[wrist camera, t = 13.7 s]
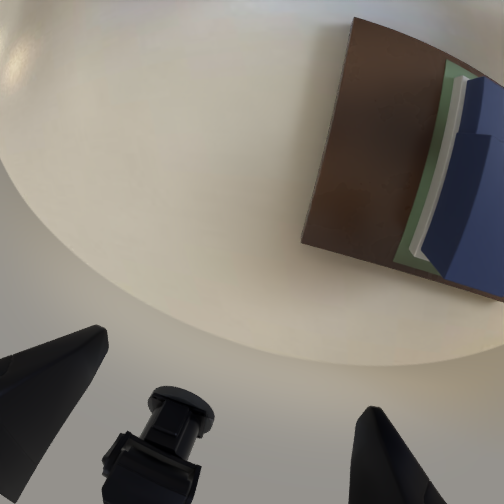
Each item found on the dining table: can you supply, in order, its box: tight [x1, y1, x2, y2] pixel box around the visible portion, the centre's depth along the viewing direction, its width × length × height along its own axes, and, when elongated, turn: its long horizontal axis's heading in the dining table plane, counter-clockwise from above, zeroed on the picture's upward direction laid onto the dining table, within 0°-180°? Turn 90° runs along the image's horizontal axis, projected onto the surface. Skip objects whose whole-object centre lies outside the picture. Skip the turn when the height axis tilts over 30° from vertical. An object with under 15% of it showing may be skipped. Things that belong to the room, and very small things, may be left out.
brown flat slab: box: [301, 17, 504, 302], centre depth 14 cm, size 14×18×1 cm
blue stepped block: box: [409, 75, 504, 297], centre depth 11 cm, size 11×5×5 cm, turn 168°
